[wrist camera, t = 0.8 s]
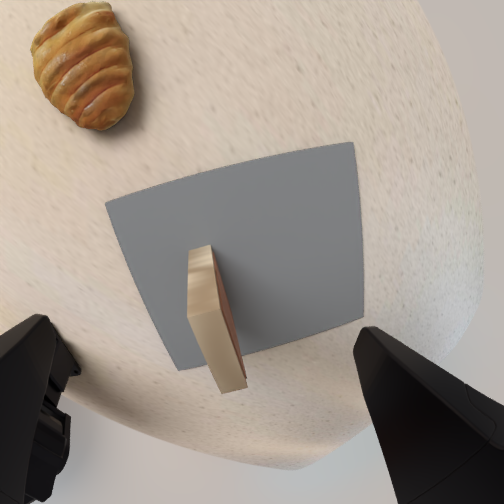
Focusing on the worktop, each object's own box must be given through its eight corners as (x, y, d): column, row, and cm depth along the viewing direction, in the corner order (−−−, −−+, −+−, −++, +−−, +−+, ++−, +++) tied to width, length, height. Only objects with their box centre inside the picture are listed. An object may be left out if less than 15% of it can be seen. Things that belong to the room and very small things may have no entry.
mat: (178, 367, 25) (178, 370, 25) (106, 202, 18) (104, 203, 18) (361, 314, 27) (363, 316, 26) (350, 141, 20) (353, 142, 19)
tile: (211, 317, 23) (221, 394, 16) (188, 250, 20) (187, 317, 13) (231, 311, 23) (249, 387, 16) (211, 244, 21) (222, 308, 13)
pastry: (162, 97, 17) (154, 89, 13) (81, 151, 17) (57, 157, 13) (109, 1, 13) (94, -19, 9) (34, 56, 13) (8, 47, 9)
